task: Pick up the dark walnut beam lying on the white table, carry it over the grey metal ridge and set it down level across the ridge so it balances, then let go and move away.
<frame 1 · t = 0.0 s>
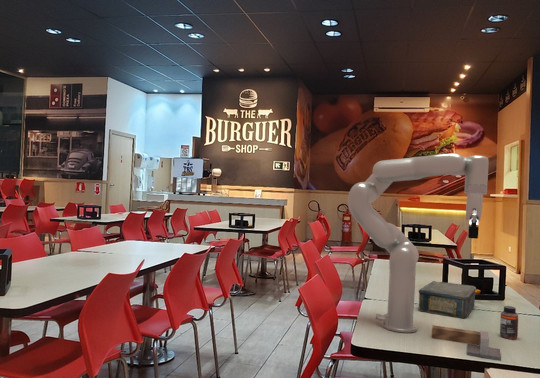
hand: (473, 237, 177), 37 cm above the table, tool pointing down, fingers open, 9 cm apart
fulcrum: (483, 353, 161), on the table
beam: (458, 341, 174), on the table
metal box: (447, 309, 225), on the table
supplement bottle: (508, 337, 182), on the table
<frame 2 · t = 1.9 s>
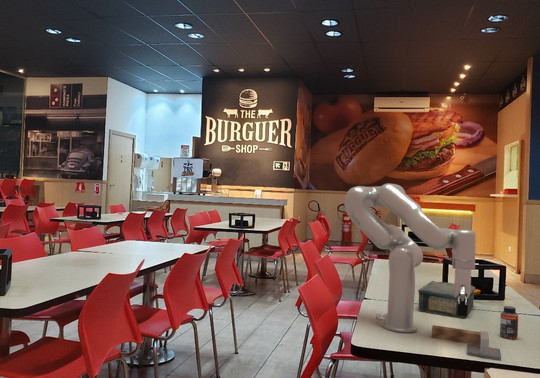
hand: (462, 313, 174), 10 cm above the table, tool pointing down, fingers open, 9 cm apart
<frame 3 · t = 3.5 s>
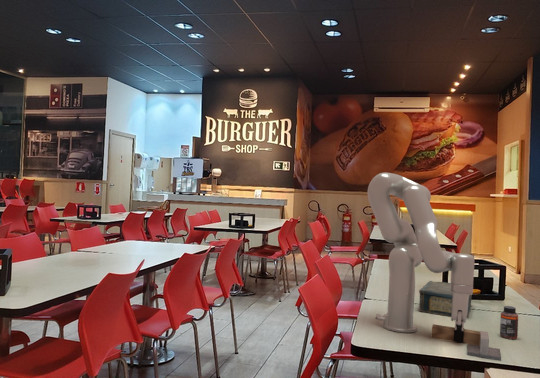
hand: (458, 339, 174), 0 cm above the table, tool pointing down, fingers closed on beam, 4 cm apart
beam: (458, 340, 174), on the table, touching gripper
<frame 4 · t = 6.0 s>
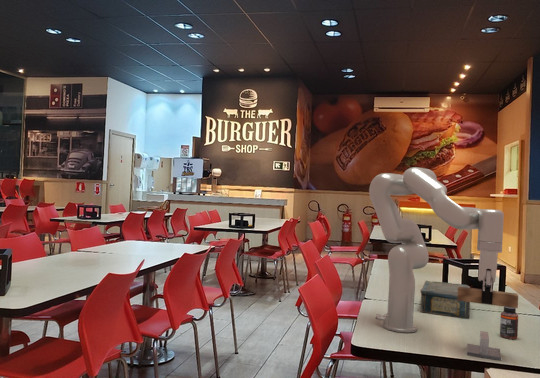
hand: (486, 301, 161), 17 cm above the table, tool pointing down, fingers closed on beam, 4 cm apart
beam: (486, 303, 161), point 17 cm above the table, touching gripper
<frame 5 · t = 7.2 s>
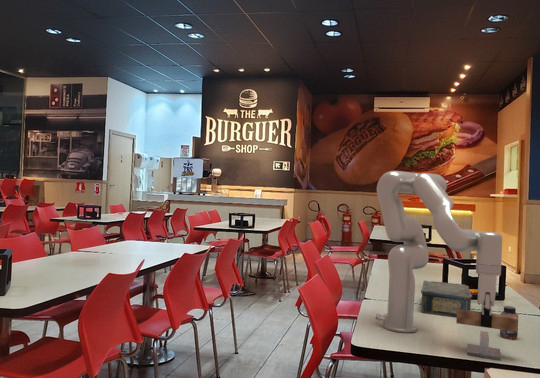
hand: (485, 324, 161), 9 cm above the table, tool pointing down, fingers closed on beam, 4 cm apart
beam: (485, 326, 161), point 9 cm above the table, touching gripper
when the fingers open (7 cm above the table, at t = 8.4 s): beam stays where it is, resting on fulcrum.
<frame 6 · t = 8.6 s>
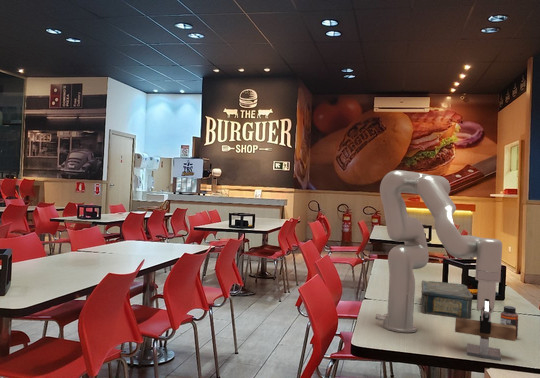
hand: (484, 330, 161), 8 cm above the table, tool pointing down, fingers open, 6 cm apart
beam: (484, 335, 161), point 6 cm above the table, touching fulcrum
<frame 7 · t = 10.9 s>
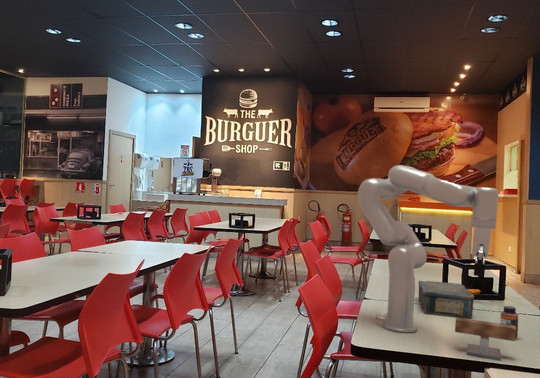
hand: (479, 273, 166), 25 cm above the table, tool pointing down, fingers open, 9 cm apart
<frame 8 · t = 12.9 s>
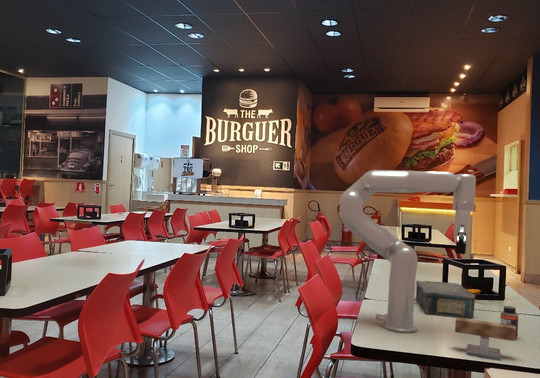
hand: (460, 252, 184), 30 cm above the table, tool pointing down, fingers open, 9 cm apart
at the end: beam 0.1 cm off-centre on the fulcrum, point 6.0 cm above the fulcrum's base; beam tilted 0°; beam touching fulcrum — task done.
